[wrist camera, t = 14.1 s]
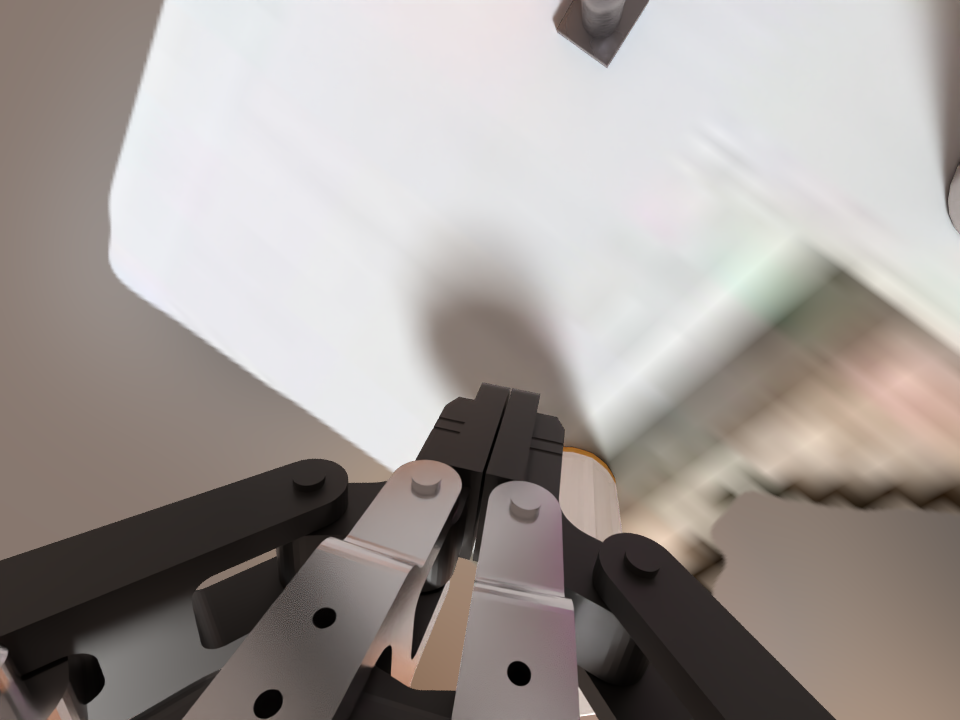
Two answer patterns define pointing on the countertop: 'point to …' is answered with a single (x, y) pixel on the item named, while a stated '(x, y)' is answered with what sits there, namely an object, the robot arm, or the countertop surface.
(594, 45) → the hinge post
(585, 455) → the cup
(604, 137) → the countertop surface
